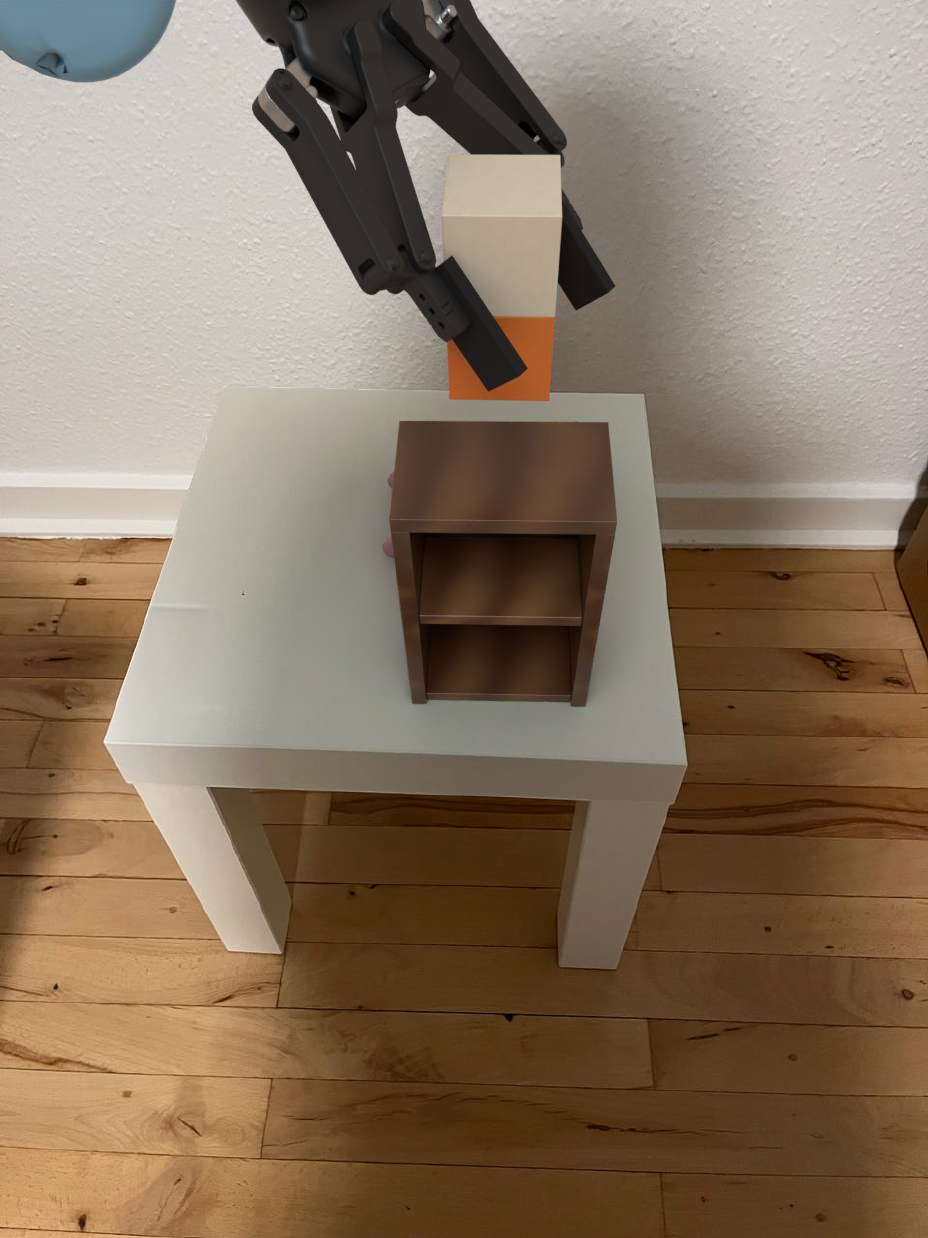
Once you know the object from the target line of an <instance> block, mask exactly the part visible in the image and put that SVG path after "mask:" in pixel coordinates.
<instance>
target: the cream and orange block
mask: <svg viewBox="0 0 928 1238" xmlns="http://www.w3.org/2000/svg"><path fill="white" fill-rule="evenodd" d="M446 163H447V164H446V165H447V166H446V173H445V182H444V193H443V200H442V211H441V227H442V228H441V231H442V250H443V251H442V254H443V255H442V256H443V262H444V261H445V260H447V259H448V258H449V257H451V256H453V257H454V259H455V260H456V262H457V263H458V265H459V266H460V268H461V269H462V271H463V272H464V274H465V275H466V277H467V278H468V279H469V281H470V282H471V284H472V285H473V287H474V288H475V290H476V291H477V293H478V294H479V296H480V297H481V299H482V300H483V302H484V303H485V305H486V306H487V308H488V309H489V311H490V312H491V314H492V315H493V317H494V318H495V320H496V321H497V323H498V324H499V326H500V327H501V329H502V330H503V332H504V333H505V335H506V336H507V338H508V339H509V341H510V342H511V344H512V345H513V347H514V348H515V350H516V351H517V353H518V354H519V356H520V357H521V359H522V360H523V362H524V363H525V365H526V366H527V368H528V369H527V370H526V371H525V372H524V373H523V374H522V375H520V376H519V377H517V378H515V379H513V380H511V381H509V382H507V383H505V384H503V385H501V386H499V387H497V388H495V389H493V390H491V391H489V392H488V391H487V389H486V388H485V386H484V385H483V384H482V382H481V381H480V379H479V378H478V376H477V375H476V373H475V372H474V371H473V369H472V368H471V366H470V365H469V363H468V362H467V360H466V359H465V358H464V356H463V355H462V353H461V352H460V350H459V349H458V347H457V346H456V345H455V343H454V342H453V340H452V339H451V340H450V341H448V342H446V350H447V351H446V352H447V353H446V354H447V376H448V377H447V378H448V399H449V400H452V401H454V400H456V401H457V400H458V401H459V400H461V401H512V402H513V401H517V402H519V401H523V402H549V401H550V394H551V380H552V379H551V378H552V366H553V352H554V340H555V339H554V337H555V335H554V334H555V323H556V311H557V298H558V297H557V295H558V269H559V255H560V241H561V227H562V193H561V188H562V168H561V162H560V155H471V154H448V155H447V162H446Z"/></svg>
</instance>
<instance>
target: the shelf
mask: <svg viewBox="0 0 928 1238" xmlns="http://www.w3.org/2000/svg"><path fill="white" fill-rule="evenodd" d="M609 424H610V423H609V421H577V422H574V421H526V420H525V421H524V420H523V421H521V420H520V421H517V420H516V421H513V420H512V421H510V420H509V421H508V420H487V421H486V420H485V421H484V420H399V423H398V431H397V440H396V451H395V460H394V469H393V471H394V478H393V487H392V488H391V498H390V507H389V517H388V521H389V530H390V535H391V539H392V547H393V555H394V556H393V563H394V571H395V578H396V586H397V587H396V588H397V593H398V603H399V611H400V618H401V626H402V627H401V628H402V634H403V642H404V650H405V651H404V652H405V658H406V659H405V660H406V666H407V675H408V683H409V691H410V699H411V700H410V701H411V704H412V705H427V704H428V701H475V702H476V701H477V702H479V701H481V702H482V701H483V702H537V703H538V702H542V703H543V702H544V703H570V707H583V708H584V707H586V706H587V701H588V695H589V689H590V683H591V677H592V673H593V668H594V667H593V665H594V660H595V655H596V650H597V649H596V648H597V643H598V637H599V631H600V625H601V620H602V614H603V607H604V602H605V595H606V590H607V584H608V580H609V579H608V577H609V573H610V567H611V561H612V555H613V550H614V543H615V538H616V532H617V526H618V515H617V514H618V513H617V505H616V504H617V503H616V502H617V501H616V493H615V481H614V480H615V479H614V471H613V459H612V449H611V436H610V426H609Z"/></svg>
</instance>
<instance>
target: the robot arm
mask: <svg viewBox="0 0 928 1238" xmlns="http://www.w3.org/2000/svg"><path fill="white" fill-rule="evenodd" d="M176 2H177V0H0V51H2V52H3V53H4V54H5V55H6V56H7V57H8V58H10V59H11V60H13V61H14V62H17V63H18V64H20V65H23V66H25V67H27V68H28V69H31V70H33V71H35V72H37V73H39V74H41V75H44V76H47V77H50V78H54V79H57V80H60V81H61V80H62V81H67V82H72V83H97V82H103V81H107V80H110V79H114V78H117V77H120V76H121V75H123V74H124V73H126V72H128V71H130V70H131V69H133V68H134V67H136V66H137V65H138V64H140V63H142V62H143V61H144V60H145V58H147V57H148V56H149V55H150V54H151V53H152V52H153V50H154V49H155V48H156V46H157V45H158V44H159V43H160V42H161V40H162V38H163V37H164V34H165V33H166V31H167V29H168V27H169V25H170V22H171V20H172V17H173V13H174V10H175V6H176ZM235 2H236V4H237V5H238V7H239V8H240V9H241V11H242V12H243V14H244V16H245V17H246V19H248V21H249V23H250V24H251V25H252V27H253V28H254V30H255V31H256V33H257V35H258V36H259V37H260V38H261V40H262V41H263V42H264V43H265V44H267V45H269V46H271V47H276V48H278V49H279V51H280V54H281V56H282V61H283V65H284V67H281V68H280V67H278V68H276V69H274V70H273V72H272V73H271V75H270V76H269V78H268V79H267V80H266V82H265V84H264V85H263V87H262V88H261V90H260V92H259V93H258V94H257V96H256V97H255V99H254V100H253V102H252V104H251V111H252V113H253V116H254V117H255V118H256V120H257V121H258V122H259V123H260V124H261V126H263V127H264V128H265V129H266V131H267V132H268V133H269V134H270V135H271V136H272V137H273V138H274V139H275V140H276V142H278V144H280V146H281V147H282V148H283V149H284V150H285V152H286V154H287V156H288V157H289V159H290V161H291V163H292V165H293V167H294V169H295V171H296V173H297V175H298V176H299V178H300V179H301V182H302V184H303V185H304V187H305V189H306V191H307V193H308V194H309V196H310V199H311V200H312V202H313V204H314V206H315V207H316V210H317V211H318V213H319V215H320V217H321V218H322V220H323V222H324V224H325V226H326V228H327V229H328V231H329V233H330V235H331V237H332V239H333V240H334V242H335V244H336V246H337V248H338V250H339V251H340V254H341V255H342V257H343V259H344V261H345V263H346V265H347V266H348V268H349V270H350V272H351V274H352V275H353V278H354V279H355V282H356V283H357V285H358V287H359V288H360V289H361V291H362V293H365V294H366V295H369V296H374V295H377V294H378V293H379V292H383V291H387V293H390V294H391V295H399V294H401V293H402V292H403V291H404V292H405V293H406V294H407V295H408V296H409V297H410V299H411V300H412V302H413V303H414V304H415V305H416V307H417V308H418V310H419V311H420V313H421V315H423V317H424V318H425V319H426V322H427V323H428V325H430V327H431V328H432V331H433V332H434V333H435V334H436V336H437V337H438V338H440V339H441V340H442V341H443V342H444V343H447V342H448V341H450V340H451V339H452V340H453V342H454V343H455V345H456V346H457V347H458V349H459V350H460V352H461V353H462V355H463V356H464V358H465V359H466V360H467V362H468V363H469V365H470V366H471V368H472V369H473V371H474V372H475V373H476V375H477V376H478V378H479V379H480V381H481V382H482V384H483V385H484V386H485V388H486V389H487V391H488V392H489V391H491V390H493V389H495V388H497V387H499V386H501V385H503V384H505V383H507V382H509V381H511V380H513V379H515V378H517V377H519V376H520V375H522V374H523V373H524V372H525V371H526V370H527V369H528V368H527V366H526V365H525V363H524V362H523V360H522V359H521V357H520V356H519V354H518V353H517V351H516V350H515V348H514V347H513V345H512V344H511V342H510V341H509V339H508V338H507V336H506V335H505V333H504V332H503V330H502V329H501V327H500V326H499V324H498V323H497V321H496V320H495V318H494V317H493V315H492V314H491V312H490V311H489V309H488V308H487V306H486V305H485V303H484V302H483V300H482V299H481V297H480V296H479V294H478V293H477V291H476V290H475V288H474V287H473V285H472V284H471V282H470V281H469V279H468V278H467V277H466V275H465V274H464V272H463V271H462V269H461V268H460V266H459V265H458V263H457V262H456V260H455V259H454V257H453V256H451V257H449V258H448V259H447V260H445V261H444V260H443V261H442V262H441V263H440V264H439V265H437V266H436V264H437V256H436V254H435V249H434V246H433V242H432V238H431V236H430V233H429V230H428V228H427V227H428V226H427V224H426V223H427V222H426V220H425V217H424V214H423V210H422V208H421V207H422V206H421V203H420V201H419V197H418V195H417V191H416V187H415V184H414V181H413V178H412V175H411V171H410V168H409V165H408V161H407V159H406V156H405V152H404V149H403V146H402V142H401V139H400V136H399V133H398V130H397V129H398V128H397V122H398V116H399V115H398V114H399V112H398V109H401V108H403V107H405V108H406V109H407V110H409V111H410V112H411V113H412V114H414V115H415V116H418V117H427V118H429V119H430V120H431V121H432V122H433V123H435V124H436V125H437V126H438V127H439V128H440V129H441V130H442V131H443V132H445V133H446V134H447V135H448V136H449V137H450V138H452V140H454V141H455V143H457V144H458V145H460V146H461V148H463V149H464V150H465V151H466V152H467V153H468V154H469V155H560V162H561V169H562V168H563V167H564V166H565V161H566V159H565V155H564V153H563V152H562V151H564V150H565V149H566V148H567V145H568V139H567V136H566V134H565V132H564V131H563V129H562V128H561V127H560V126H559V124H558V122H557V121H556V120H555V118H554V117H553V116H552V115H551V114H550V112H549V110H547V109H546V107H545V106H544V104H543V102H541V100H540V99H539V97H538V96H537V95H536V93H535V92H534V90H533V89H532V88H531V86H529V84H528V83H527V82H526V80H525V79H524V78H523V76H522V75H521V74H520V72H519V71H518V70H517V68H516V67H515V65H514V64H513V63H512V61H511V60H510V59H509V57H508V56H507V55H506V53H505V52H504V51H503V49H502V48H501V47H500V45H499V44H498V43H497V42H496V40H495V39H494V37H493V36H492V35H491V34H490V32H489V30H487V28H486V27H485V25H484V24H483V23H482V21H481V20H480V18H479V17H478V14H477V12H476V10H475V8H474V5H473V3H472V1H471V0H235ZM431 72H432V73H433V74H432V75H431ZM430 75H431V76H430ZM318 100H320V101H321V102H322V103H324V104H325V105H328V106H329V108H330V112H331V114H332V117H333V121H334V124H335V127H336V128H335V127H334V125H333V124H332V122H331V120H330V119H329V117H328V115H327V114H326V112H325V111H324V109H323V108H322V107H321V105H320V104H319V103H318ZM536 137H537V138H539V139H537V140H535V138H536ZM348 153H349V154H350V156H351V158H352V159H351V158H350V156H349V154H348ZM561 193H562V227H561V241H560V255H559V269H558V283H557V285H559V287H560V288H561V290H562V291H563V294H564V295H565V297H566V298H567V299H568V301H569V303H570V304H571V306H572V308H573V309H574V310H575V311H579V310H580V309H582V308H584V307H585V306H588V305H590V304H591V303H593V302H594V301H596V300H599V299H600V298H602V297H604V296H606V295H607V294H609V293H610V292H611V291H612V290H613V289H614V288H615V287H616V285H615V282H614V281H613V279H612V278H611V276H610V275H609V273H608V271H607V270H606V268H605V266H604V265H603V262H601V259H600V258H599V257H598V255H597V254H596V251H595V250H594V248H593V247H592V245H591V244H590V241H589V240H588V238H587V237H586V236H585V234H584V232H583V230H584V226H583V222H582V219H581V217H580V216H579V215H578V212H577V211H576V209H575V207H574V206H573V204H572V203H571V201H570V199H569V198H568V196H567V194H566V193H565V191H564V189H563V188H562V187H561Z"/></svg>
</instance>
